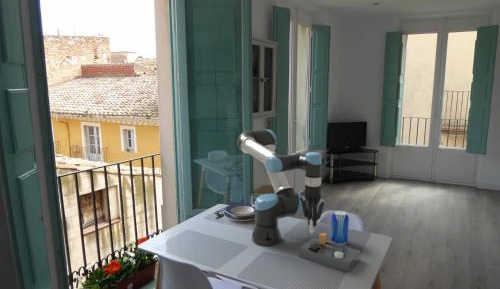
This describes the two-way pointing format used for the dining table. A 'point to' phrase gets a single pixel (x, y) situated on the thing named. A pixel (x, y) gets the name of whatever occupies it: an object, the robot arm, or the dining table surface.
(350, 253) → the panel
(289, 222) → the dining table surface
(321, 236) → the toggle knob
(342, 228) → the beer can
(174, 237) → the dining table surface
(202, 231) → the dining table surface
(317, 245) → the black button
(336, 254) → the white button
